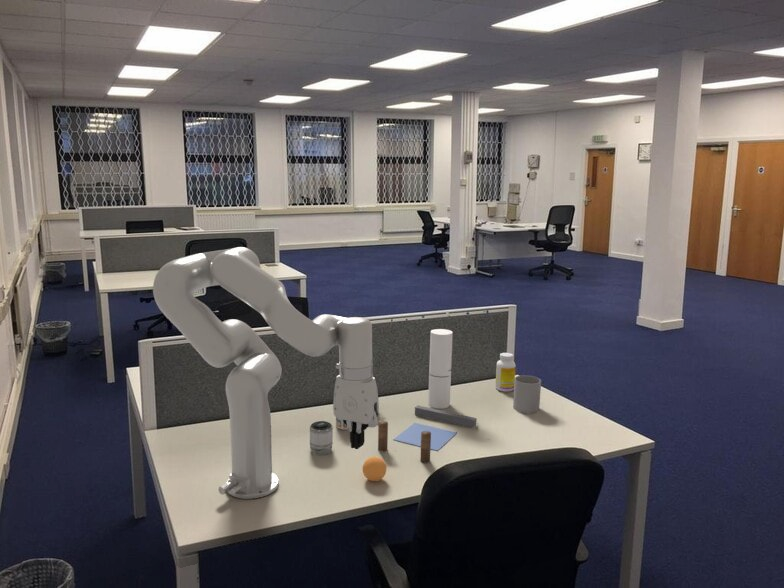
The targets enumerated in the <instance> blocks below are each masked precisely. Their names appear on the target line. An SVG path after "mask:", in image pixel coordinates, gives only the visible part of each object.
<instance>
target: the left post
mask: <svg viewBox="0 0 784 588" xmlns="http://www.w3.org/2000/svg"><path fill="white" fill-rule="evenodd" d="M388 427H389V422H388V421H386V420H379V421H378V425H377V428H378V429H377V431H378V434H377V436H378V437H377V438H378V440H377V450H378V452H381V453H385V452H387V451H388V444H389V443H388V439H389V438H388V436H389V434H388V432H389V428H388Z"/></svg>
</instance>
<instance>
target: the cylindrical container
mask: <svg viewBox="0 0 784 588" xmlns="http://www.w3.org/2000/svg"><path fill="white" fill-rule="evenodd" d="M453 333H454V332H453V331H452V330H450V329H445V328H437V329H435V328H434V329H431V330H430V336H429V337H430V340H429V342H430V343H429V367H428V368H429V369H428V370H429V371H428V398H427V399H428V400H427V402H428V403H427V405H428V407H429V408H432V409H437V410H441V409H442V410H443V409H447V408H449V407H450V406H451V384H452V383H451V382H452V381H451V380H452V357H453Z"/></svg>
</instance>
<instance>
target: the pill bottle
mask: <svg viewBox="0 0 784 588" xmlns="http://www.w3.org/2000/svg"><path fill="white" fill-rule="evenodd" d="M335 425H336V426H335V427H337V429H340V430H343V431H344V430H346V431H348V429H347V426H346V425H345V423H344V422H342V421H340V420H338V419H337V418H336V417H335Z"/></svg>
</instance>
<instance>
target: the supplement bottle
mask: <svg viewBox="0 0 784 588" xmlns="http://www.w3.org/2000/svg"><path fill="white" fill-rule="evenodd" d="M495 367H496V370H495V389H496V390H498V391H500V392H504V393H505V392H509V393H510V392H514V384H515V378H516V367H517V366H516V363H515V361H514V354H513V353H510V352H502V353H501V352H500V354H499V360H497V362H496V366H495Z"/></svg>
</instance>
